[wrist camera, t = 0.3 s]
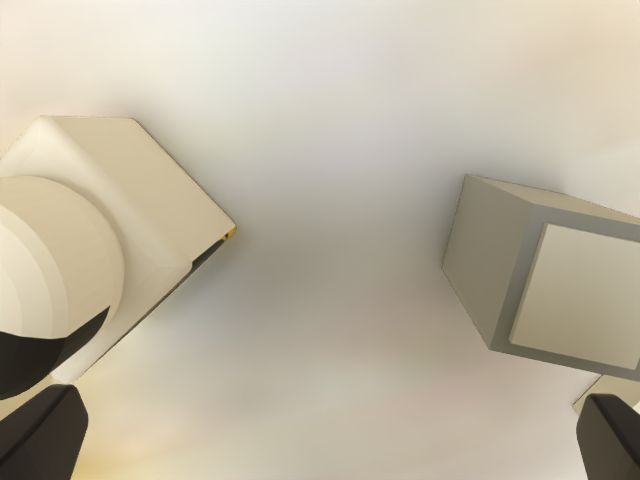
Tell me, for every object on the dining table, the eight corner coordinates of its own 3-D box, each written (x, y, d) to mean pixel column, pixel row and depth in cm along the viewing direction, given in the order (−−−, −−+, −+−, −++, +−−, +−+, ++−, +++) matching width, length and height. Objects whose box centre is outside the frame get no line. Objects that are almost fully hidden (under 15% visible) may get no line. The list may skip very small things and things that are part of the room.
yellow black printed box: (143, 320, 26) (-39, 483, 14) (37, 217, 25) (-249, 299, 13) (240, 226, 24) (130, 321, 12) (132, 114, 23) (-94, 103, 12)
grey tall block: (535, 287, 24) (644, 387, 15) (441, 267, 24) (491, 354, 15) (564, 194, 23) (702, 239, 14) (466, 173, 23) (537, 204, 14)
